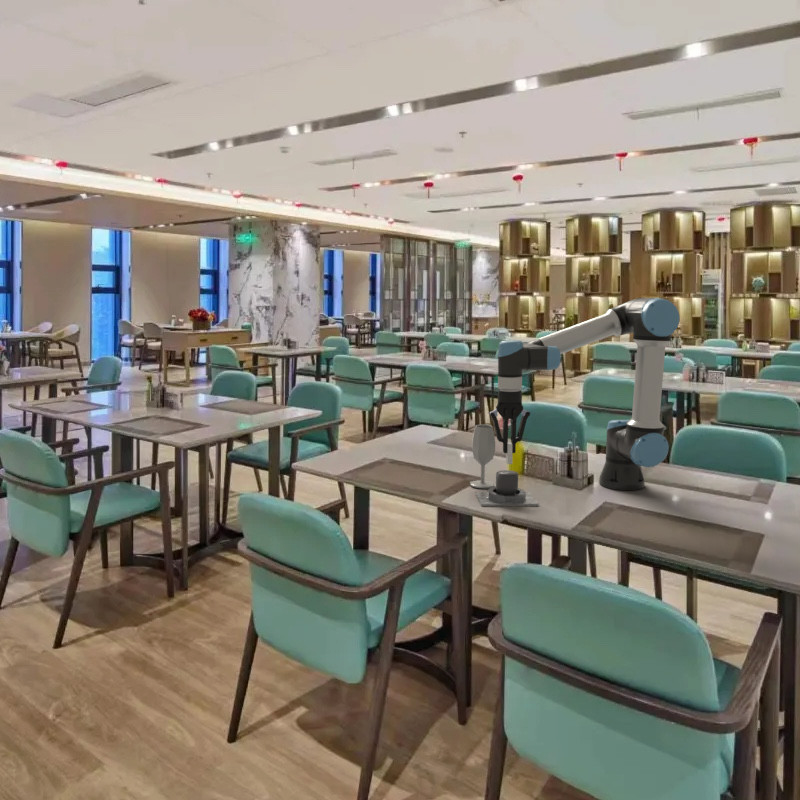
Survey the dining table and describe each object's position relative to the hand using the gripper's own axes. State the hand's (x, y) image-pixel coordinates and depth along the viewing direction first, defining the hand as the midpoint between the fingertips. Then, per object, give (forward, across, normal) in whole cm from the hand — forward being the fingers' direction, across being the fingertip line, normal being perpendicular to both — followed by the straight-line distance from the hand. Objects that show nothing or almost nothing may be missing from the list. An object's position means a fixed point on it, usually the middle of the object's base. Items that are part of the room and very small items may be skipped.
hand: (509, 462), depth 235 cm
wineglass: (+12, +6, -17) cm, 22 cm away
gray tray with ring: (+12, +1, 0) cm, 12 cm away
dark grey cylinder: (+11, +1, 0) cm, 11 cm away
